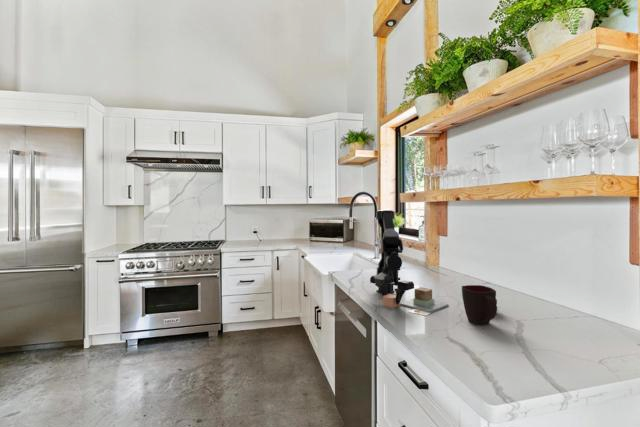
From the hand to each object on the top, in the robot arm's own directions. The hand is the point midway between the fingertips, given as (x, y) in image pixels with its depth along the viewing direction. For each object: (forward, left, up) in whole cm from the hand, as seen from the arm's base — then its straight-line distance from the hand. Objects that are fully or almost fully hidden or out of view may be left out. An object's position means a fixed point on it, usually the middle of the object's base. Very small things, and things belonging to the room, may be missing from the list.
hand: (391, 302), depth 133 cm
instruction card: (+13, +1, -1) cm, 13 cm away
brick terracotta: (0, 0, -1) cm, 1 cm away
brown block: (+9, +10, +2) cm, 13 cm away
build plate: (+9, +10, -1) cm, 13 cm away
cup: (+34, +6, -1) cm, 35 cm away
